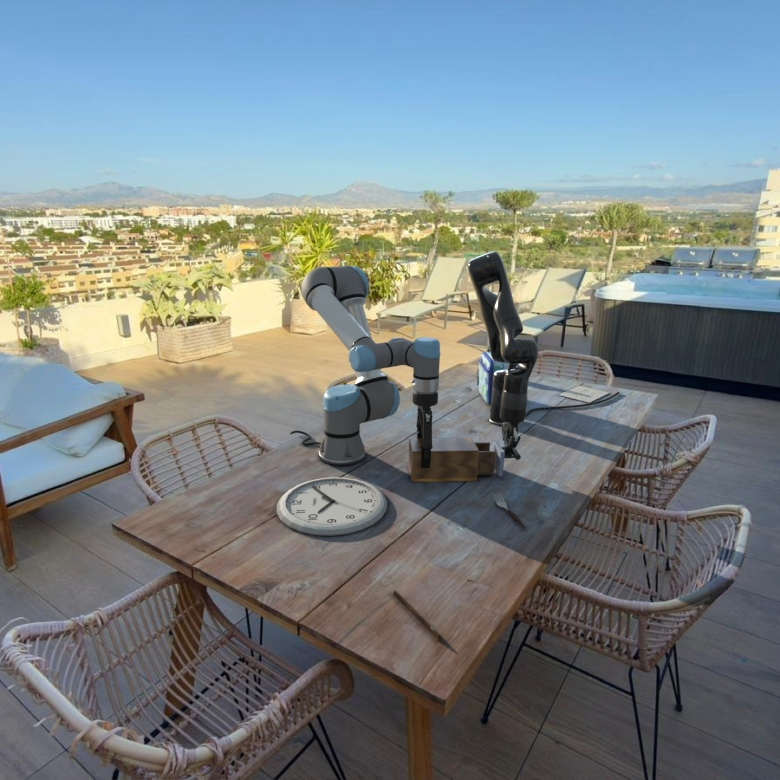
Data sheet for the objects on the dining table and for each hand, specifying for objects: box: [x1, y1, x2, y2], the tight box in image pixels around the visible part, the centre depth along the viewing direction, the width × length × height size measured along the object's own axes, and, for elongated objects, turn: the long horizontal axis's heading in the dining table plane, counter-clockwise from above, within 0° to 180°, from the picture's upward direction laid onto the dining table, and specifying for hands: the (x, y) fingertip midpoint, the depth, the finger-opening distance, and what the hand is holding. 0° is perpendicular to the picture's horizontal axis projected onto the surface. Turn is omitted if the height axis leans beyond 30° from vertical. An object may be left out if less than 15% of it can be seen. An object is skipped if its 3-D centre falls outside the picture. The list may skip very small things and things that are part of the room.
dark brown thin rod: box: [392, 590, 441, 641], centre depth 102 cm, size 15×1×1 cm, turn 34°
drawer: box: [474, 439, 522, 477], centre depth 162 cm, size 24×9×8 cm, turn 94°
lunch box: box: [476, 351, 509, 406], centre depth 230 cm, size 26×11×21 cm, turn 179°
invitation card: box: [558, 385, 610, 404], centre depth 243 cm, size 21×1×15 cm
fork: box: [493, 492, 526, 529], centre depth 140 cm, size 3×16×2 cm, turn 15°
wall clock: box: [276, 476, 388, 537], centre depth 142 cm, size 30×2×30 cm
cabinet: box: [407, 436, 479, 483], centre depth 161 cm, size 20×10×10 cm, turn 94°
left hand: (423, 459), depth 160 cm, fingers closed on cabinet, 10 cm apart
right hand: (507, 457), depth 162 cm, fingers closed
